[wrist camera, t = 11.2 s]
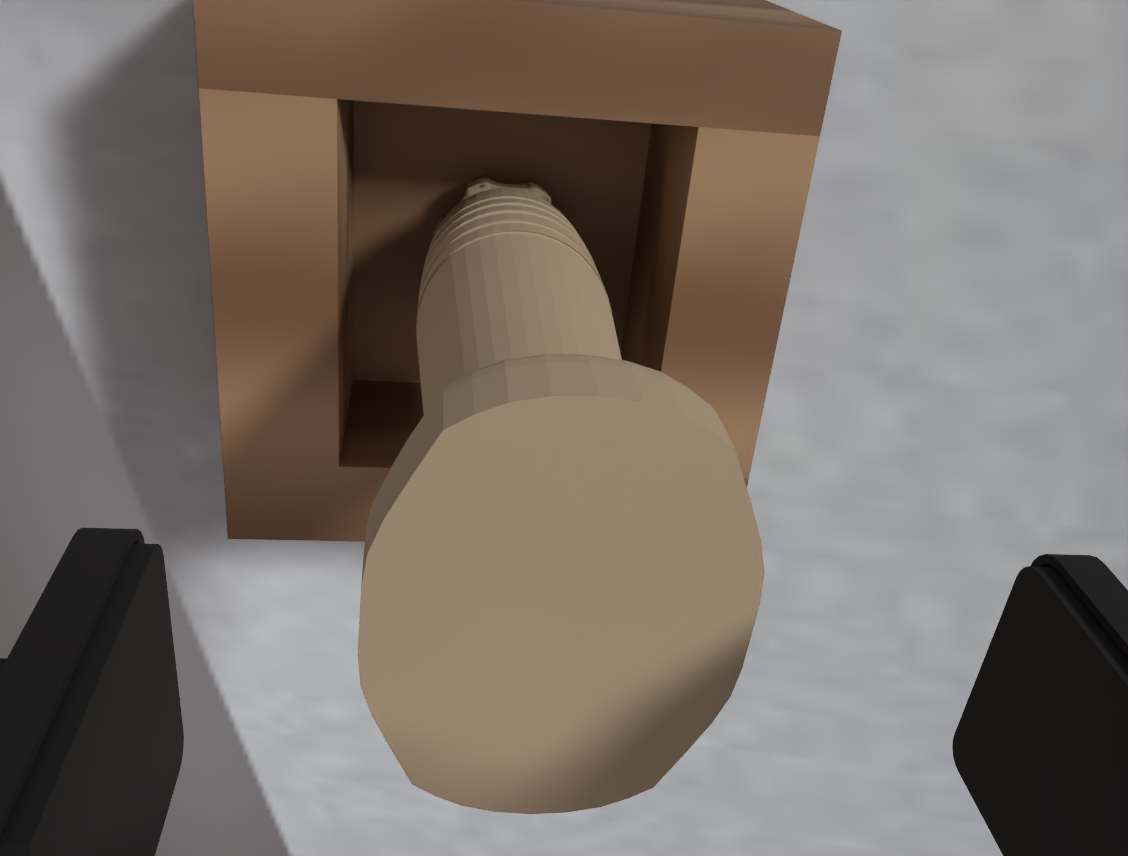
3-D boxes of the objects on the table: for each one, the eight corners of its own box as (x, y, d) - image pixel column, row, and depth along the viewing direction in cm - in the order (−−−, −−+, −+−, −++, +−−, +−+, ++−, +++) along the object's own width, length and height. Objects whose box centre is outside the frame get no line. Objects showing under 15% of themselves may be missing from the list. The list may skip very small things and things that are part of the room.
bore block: (246, -53, 23) (190, -30, 18) (757, -3, 25) (842, 31, 20) (266, 417, 29) (227, 538, 24) (683, 432, 31) (733, 548, 25)
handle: (394, 345, 27) (350, 812, 14) (409, 90, 24) (371, 379, 11) (578, 359, 28) (701, 815, 14) (615, 114, 25) (812, 411, 11)
